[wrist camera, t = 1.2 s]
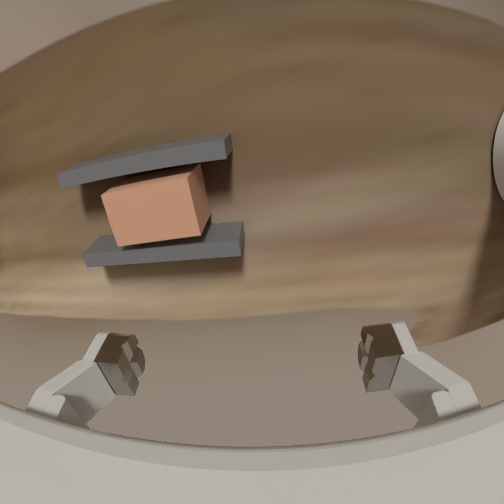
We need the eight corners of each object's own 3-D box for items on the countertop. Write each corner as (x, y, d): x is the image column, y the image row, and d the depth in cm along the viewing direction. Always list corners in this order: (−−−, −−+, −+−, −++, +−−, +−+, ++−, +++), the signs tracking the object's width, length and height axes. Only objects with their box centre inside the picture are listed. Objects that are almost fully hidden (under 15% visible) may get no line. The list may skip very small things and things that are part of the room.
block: (200, 162, 28) (186, 177, 23) (211, 212, 30) (200, 235, 26) (124, 178, 29) (100, 195, 24) (137, 223, 31) (117, 246, 27)
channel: (230, 133, 26) (223, 140, 23) (244, 235, 31) (241, 255, 27) (78, 163, 28) (56, 174, 24) (103, 248, 33) (87, 267, 29)
